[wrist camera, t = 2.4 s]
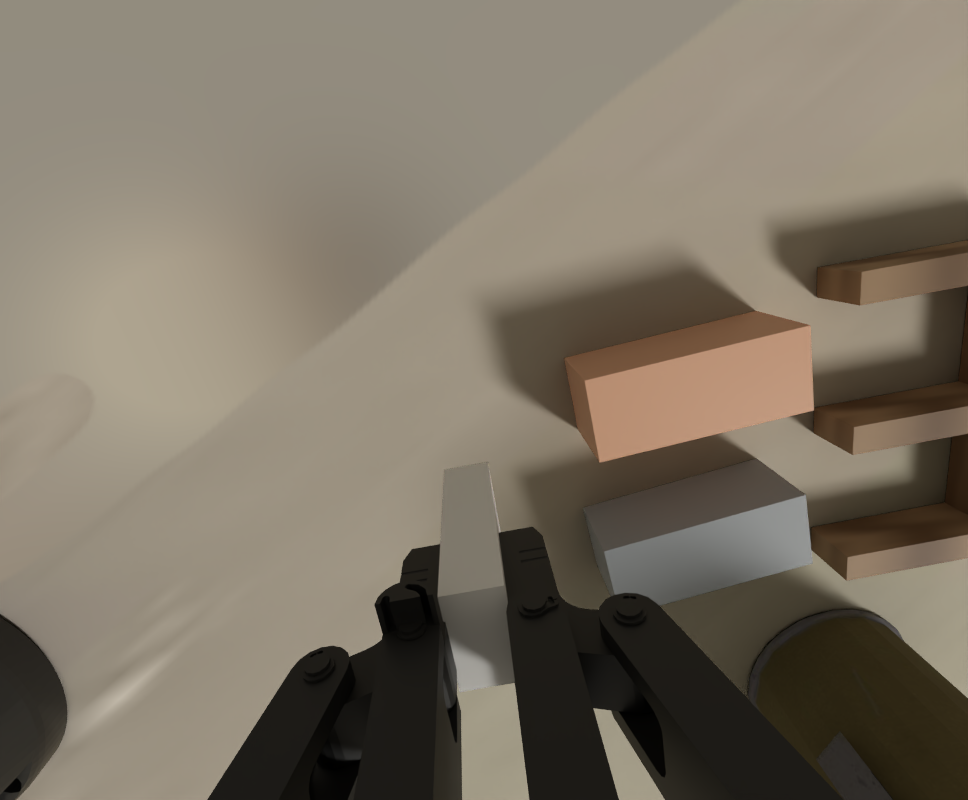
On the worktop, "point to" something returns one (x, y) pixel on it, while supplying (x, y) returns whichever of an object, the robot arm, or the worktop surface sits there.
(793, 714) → the canister
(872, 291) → the comb rack
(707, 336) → the terracotta bar
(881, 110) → the worktop surface
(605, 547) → the slate bar
